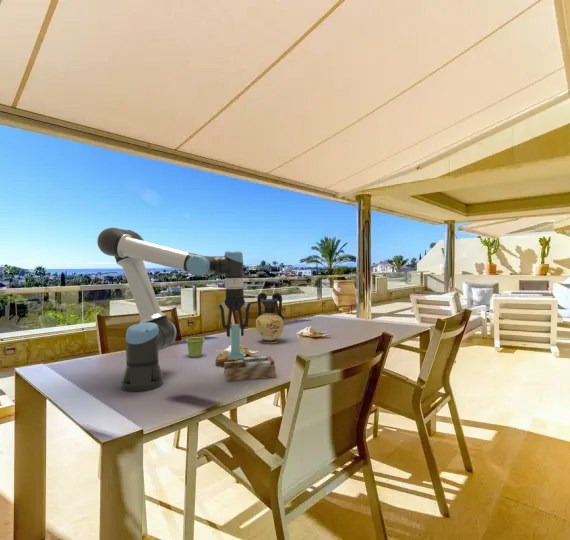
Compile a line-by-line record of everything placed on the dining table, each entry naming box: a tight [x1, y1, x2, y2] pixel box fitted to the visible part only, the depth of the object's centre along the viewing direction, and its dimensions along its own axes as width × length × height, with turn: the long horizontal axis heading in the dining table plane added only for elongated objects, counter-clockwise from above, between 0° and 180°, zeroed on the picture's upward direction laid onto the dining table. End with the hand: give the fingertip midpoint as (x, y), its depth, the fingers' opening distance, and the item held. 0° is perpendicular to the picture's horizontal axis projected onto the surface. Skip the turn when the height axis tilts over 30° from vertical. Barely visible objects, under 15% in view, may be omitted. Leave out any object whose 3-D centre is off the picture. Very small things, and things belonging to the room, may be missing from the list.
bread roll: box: [215, 350, 239, 368], centre depth 164 cm, size 10×10×8 cm
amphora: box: [255, 292, 285, 344], centre depth 211 cm, size 18×17×30 cm
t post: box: [227, 323, 245, 360], centre depth 146 cm, size 6×6×14 cm
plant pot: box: [185, 336, 205, 358], centre depth 180 cm, size 9×9×9 cm
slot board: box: [223, 355, 276, 382], centre depth 147 cm, size 20×12×6 cm, turn 105°
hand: (235, 343), depth 146 cm, fingers closed on t post, 3 cm apart
